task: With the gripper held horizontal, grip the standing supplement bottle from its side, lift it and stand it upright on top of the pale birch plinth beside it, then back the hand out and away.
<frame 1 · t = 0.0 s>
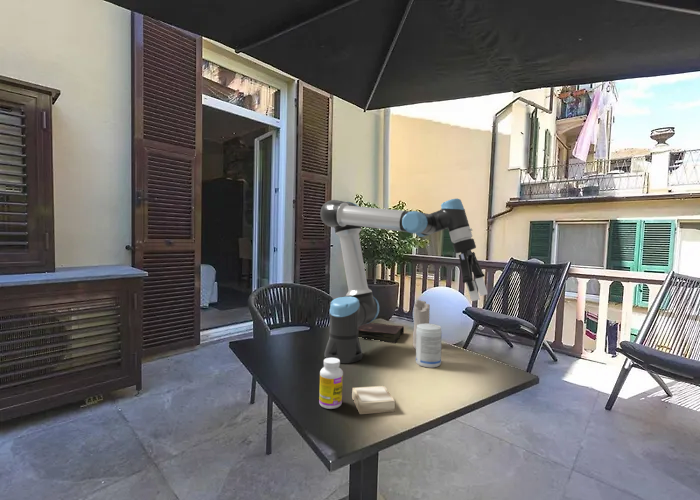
hand: (480, 297, 124), 28 cm above the table, tool tilted 20°, fingers open, 13 cm apart
supplement bottle: (330, 404, 101), on the table
candle: (421, 347, 156), on the table
birch plinth: (372, 404, 101), on the table
diary: (374, 336, 172), on the table
supplement tub: (427, 364, 135), on the table
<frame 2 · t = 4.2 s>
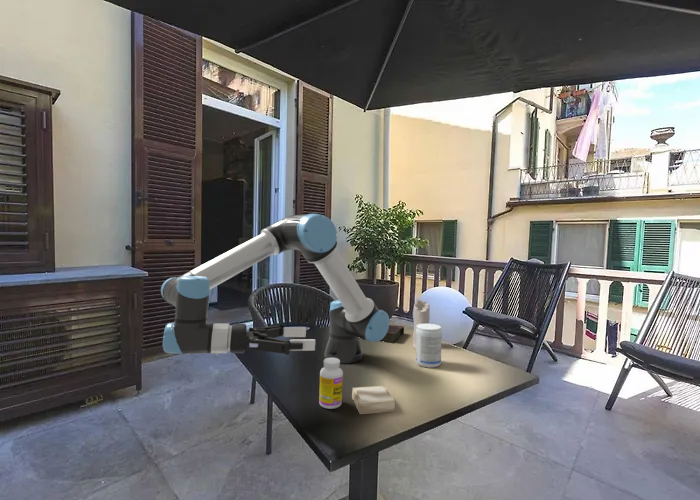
hand: (310, 338, 98), 20 cm above the table, tool horizontal, fingers open, 13 cm apart
nothing on the table moved.
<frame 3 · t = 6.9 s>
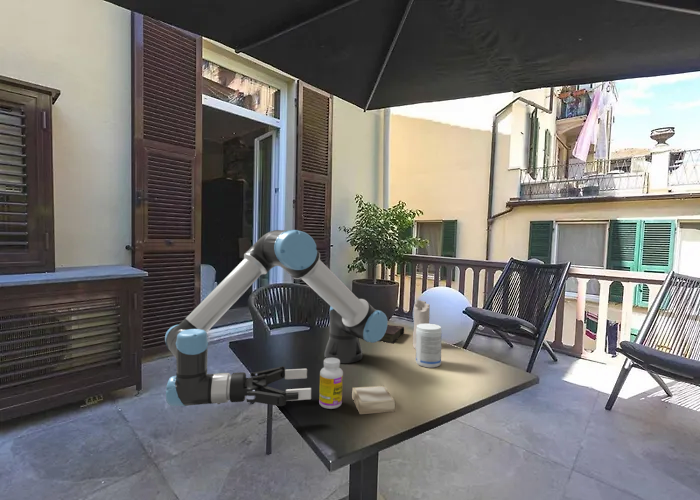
hand: (308, 382, 99), 7 cm above the table, tool horizontal, fingers open, 13 cm apart
nothing on the table moved.
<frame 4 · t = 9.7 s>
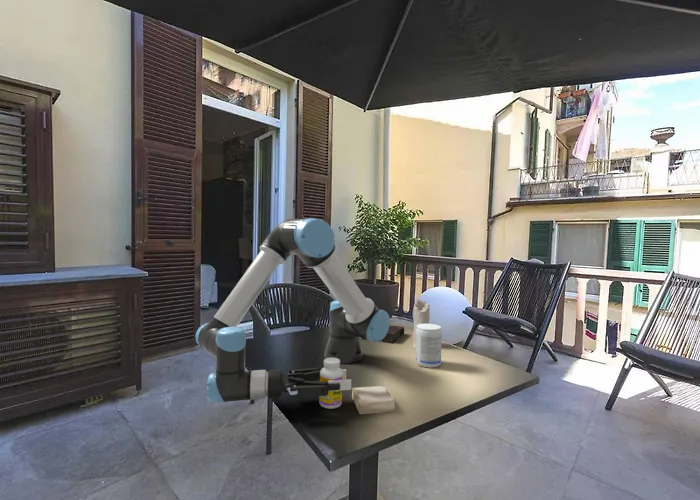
hand: (348, 379, 102), 7 cm above the table, tool horizontal, fingers closed on supplement bottle, 7 cm apart
supplement bottle: (330, 404, 101), on the table, touching gripper
everything else where it was.
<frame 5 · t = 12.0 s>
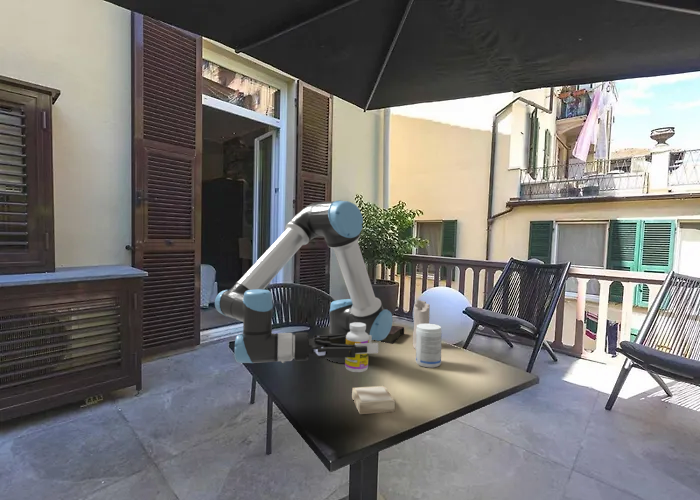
hand: (374, 343, 101), 18 cm above the table, tool horizontal, fingers closed on supplement bottle, 7 cm apart
supplement bottle: (356, 369, 100), point 11 cm above the table, touching gripper
everything else where it was.
when the fingers open (11 cm above the table, at t = 14.7 s): supplement bottle drops 1 cm, resting on birch plinth.
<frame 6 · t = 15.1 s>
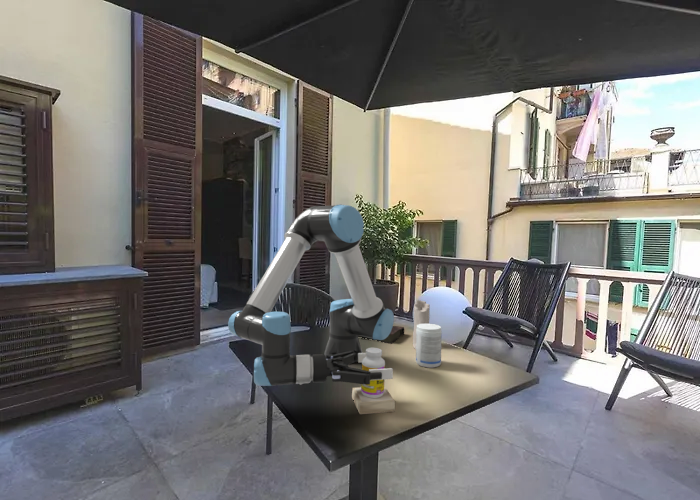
hand: (385, 364, 102), 11 cm above the table, tool horizontal, fingers open, 12 cm apart
supplement bottle: (372, 394, 101), point 3 cm above the table, touching birch plinth
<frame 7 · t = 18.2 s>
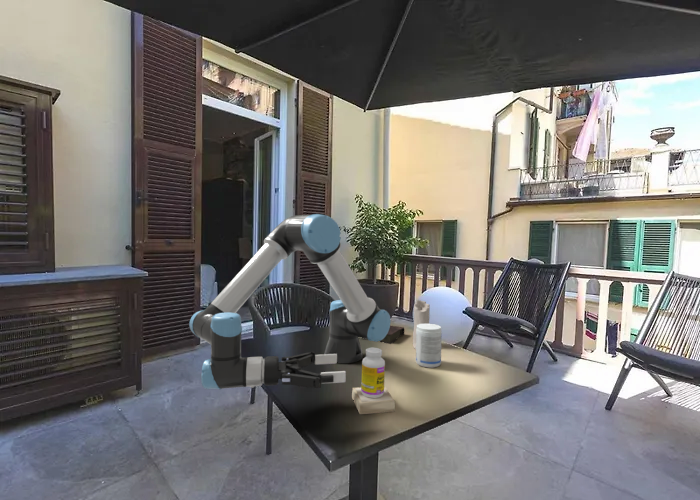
hand: (340, 366, 99), 12 cm above the table, tool horizontal, fingers open, 13 cm apart
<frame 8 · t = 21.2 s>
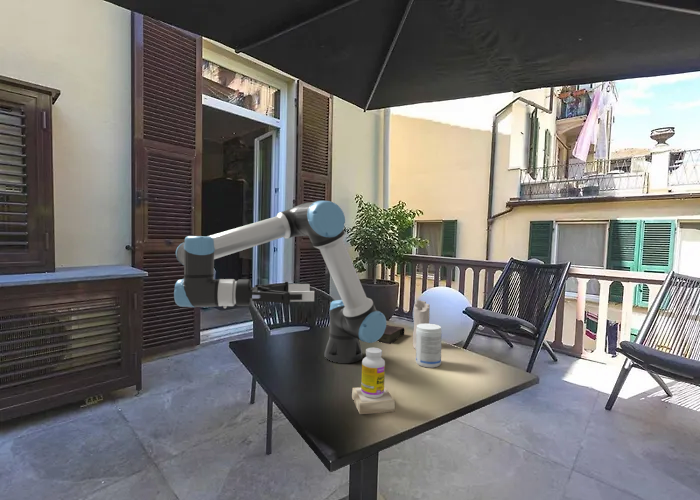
hand: (311, 292, 102), 32 cm above the table, tool horizontal, fingers open, 13 cm apart
at the end: supplement bottle inside the target area on the birch plinth (0.1 cm from its centre), point 2.9 cm above the birch plinth's base; supplement bottle tilted 0°; the gripper is holding nothing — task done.
